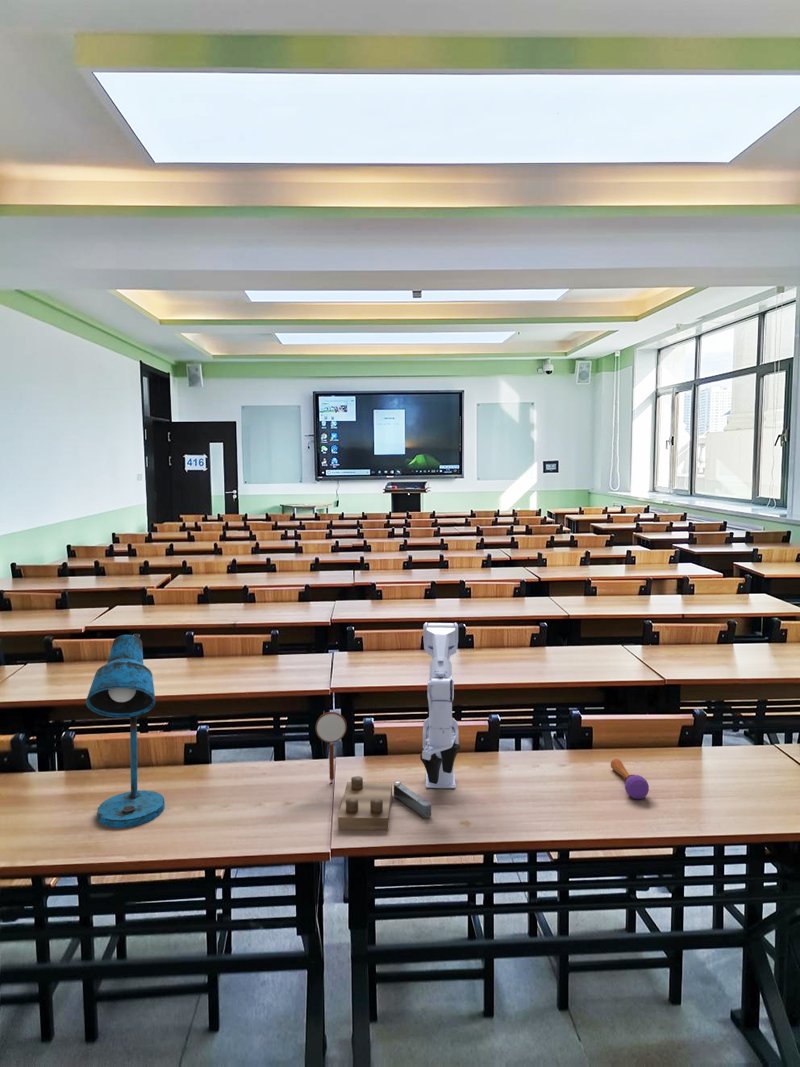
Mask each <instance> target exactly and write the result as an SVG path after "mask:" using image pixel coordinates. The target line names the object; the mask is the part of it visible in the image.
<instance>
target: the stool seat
mask: <svg viewBox="0 0 800 1067" xmlns="http://www.w3.org/2000/svg"><path fill="white" fill-rule="evenodd" d="M350 779H351V780H350V781H347V782H346V786H345V789H344V794H343V797H342V800H341V805H340V808H339V812H338V817H337V826H338V827H337V829H338V830H365V829H367V830H368V831H369V830H371V831H372V830H373V831H375V830H374V829H388V830H389V827H388V826H390V818H389V817H390V816H391V808H392V799H393V782H386V781H385V782H384V781H383V782H380V781H377V782H376V781H375V782H374V781H373V782H371V781H364V777H362V776H352V777H351V778H350Z"/></svg>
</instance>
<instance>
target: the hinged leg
mask: <svg viewBox="0 0 800 1067" xmlns="http://www.w3.org/2000/svg"><path fill="white" fill-rule="evenodd" d="M393 796H394V797H395V798H397V799H398V801H401V802H402V803H403V804H404V805H406V806H407V807H409V808H410V809H412V810H413V811H414V812H416V813H417V814H418V815H420V816H421V817H423V819H426V818H429V817H432V804H431V802H429V801H427V800H426V799H424V798H422V796H420V795H419V794H417V793H416V792H415V791H413V790H411V789H410V788H408V787H407V786H406V785H404V784H403V783H402V781H401V780H394V781H393Z"/></svg>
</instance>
